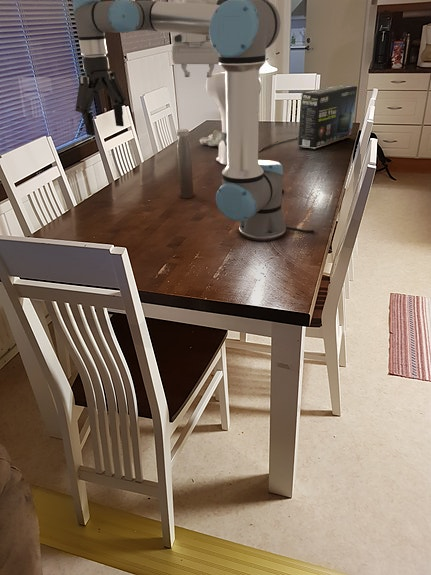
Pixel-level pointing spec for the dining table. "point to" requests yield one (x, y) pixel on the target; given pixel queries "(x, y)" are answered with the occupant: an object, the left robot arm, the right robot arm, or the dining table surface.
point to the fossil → (212, 139)
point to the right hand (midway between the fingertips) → (106, 130)
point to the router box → (326, 115)
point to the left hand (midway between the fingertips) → (198, 77)
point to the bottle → (185, 167)
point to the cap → (182, 132)
